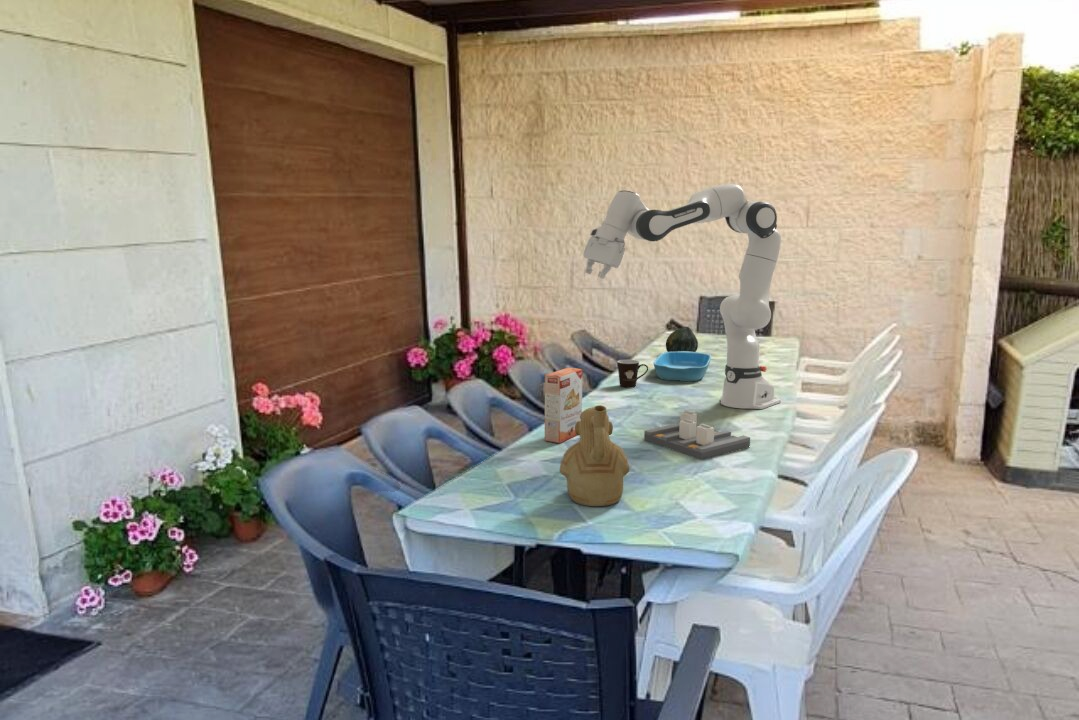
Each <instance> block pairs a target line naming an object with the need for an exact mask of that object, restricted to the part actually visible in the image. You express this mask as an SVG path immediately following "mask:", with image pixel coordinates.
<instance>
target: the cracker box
mask: <svg viewBox="0 0 1079 720" xmlns="http://www.w3.org/2000/svg"><path fill="white" fill-rule="evenodd" d="M583 372H584V371H583V369H581V368H575V367H566V368H563V369H560V370H557V371H553V372H550V373H547V374H545V375H544V442H551V443H555V444H562V443H563V442H565V441H567V440H570V439H572V438H574V437H576V436H577V435H576V433H575V424H576V422H578V421H581V419H580V415H581V413H582V412H583Z"/></svg>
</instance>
